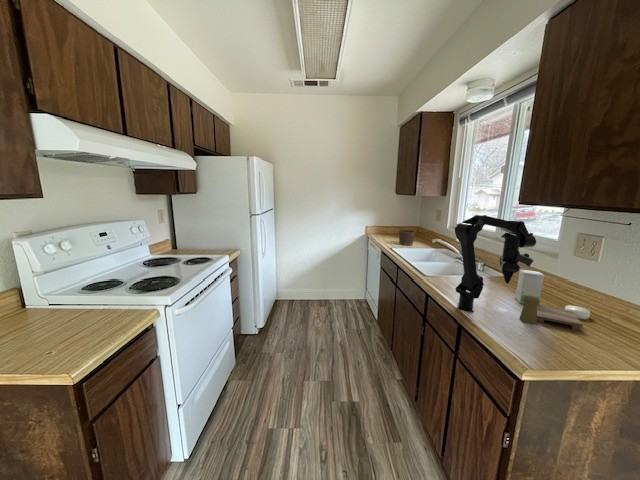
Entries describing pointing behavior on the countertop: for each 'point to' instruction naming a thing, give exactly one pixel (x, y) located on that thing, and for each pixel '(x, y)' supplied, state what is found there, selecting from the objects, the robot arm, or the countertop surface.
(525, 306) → the olive pestle
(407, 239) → the plant pot
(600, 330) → the countertop surface
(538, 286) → the skincare box
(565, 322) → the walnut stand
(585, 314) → the white rounded piece
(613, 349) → the countertop surface
